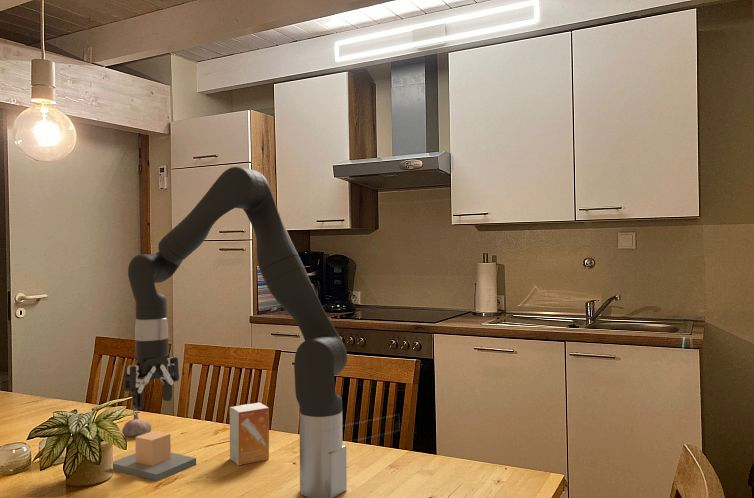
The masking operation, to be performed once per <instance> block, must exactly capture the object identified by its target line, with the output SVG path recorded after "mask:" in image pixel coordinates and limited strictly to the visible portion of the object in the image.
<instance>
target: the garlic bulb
mask: <svg viewBox="0 0 754 498" xmlns="http://www.w3.org/2000/svg"><path fill="white" fill-rule="evenodd" d="M132 410H133V412H134V411H137V412H138V409H135V408H134V407H133V409H132ZM149 432H152V425H151V423H150V422H148V421H147V420H145V419H140V418H139V414H136V415H134V414H133V419H131V420H130V419H129V420H127V422H126V423H125V424H124V426H123V427H122V429H121V433H122V435H123V434H124V435H125V436H124V435H123V436H124V437H129V436H130V437H137V436H140V435H143V434H146V433H149Z"/></svg>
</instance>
